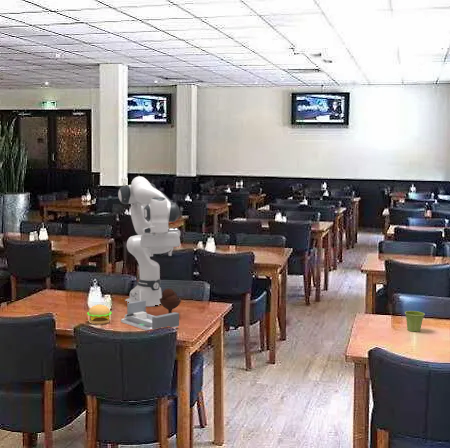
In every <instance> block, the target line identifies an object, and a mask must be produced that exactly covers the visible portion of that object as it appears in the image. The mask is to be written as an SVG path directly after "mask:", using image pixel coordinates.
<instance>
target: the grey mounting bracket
mask: <svg viewBox="0 0 450 448" xmlns="http://www.w3.org/2000/svg"><path fill="white" fill-rule="evenodd" d="M120 322H121V323H123V324H125V325H128V326H132V327H135V328H138V329H141V330H144V331H147V330H150V329H156V328H161V327H167V326H170V327H178V326H179V327H180V312H172V313H169V314H168V313H164V314H159V315H152V314H150V313H147V318H145V319H141V318H138V317H134V316H127V313H126V314H124V318H121V319H120Z"/></svg>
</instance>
